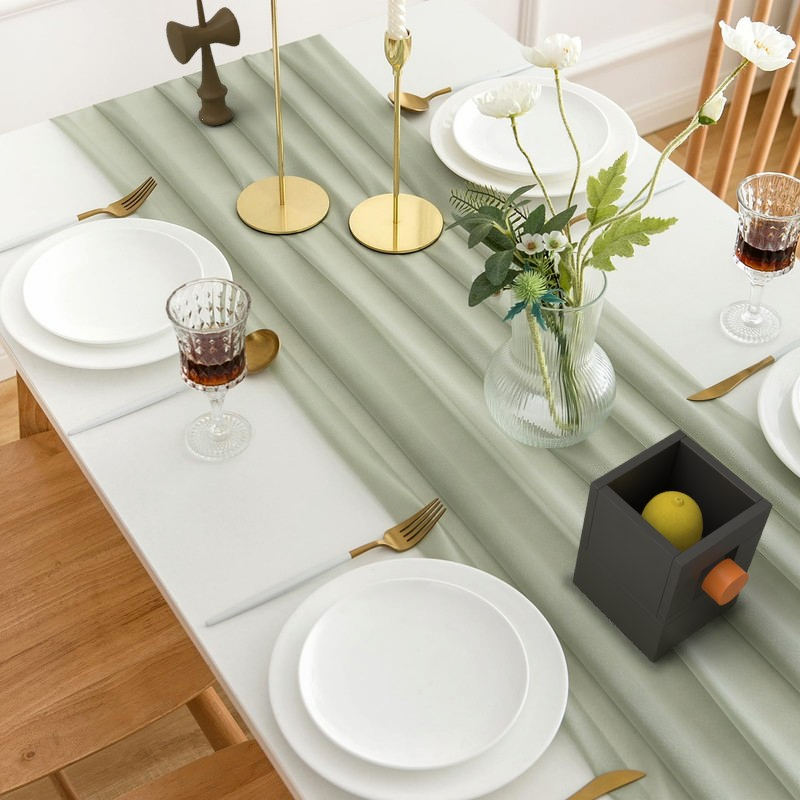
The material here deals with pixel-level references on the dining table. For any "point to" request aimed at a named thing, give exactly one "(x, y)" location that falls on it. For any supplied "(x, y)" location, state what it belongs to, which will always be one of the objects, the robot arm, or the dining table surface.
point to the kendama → (206, 57)
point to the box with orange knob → (664, 542)
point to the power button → (725, 581)
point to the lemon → (675, 518)
